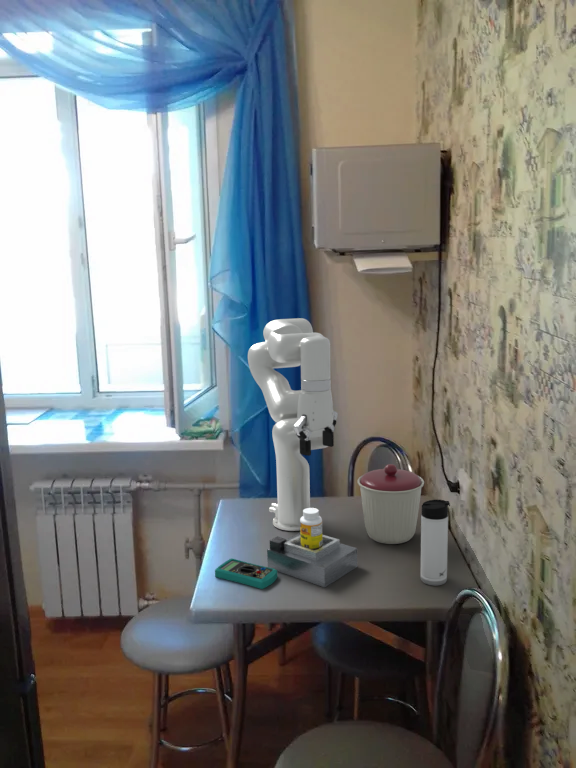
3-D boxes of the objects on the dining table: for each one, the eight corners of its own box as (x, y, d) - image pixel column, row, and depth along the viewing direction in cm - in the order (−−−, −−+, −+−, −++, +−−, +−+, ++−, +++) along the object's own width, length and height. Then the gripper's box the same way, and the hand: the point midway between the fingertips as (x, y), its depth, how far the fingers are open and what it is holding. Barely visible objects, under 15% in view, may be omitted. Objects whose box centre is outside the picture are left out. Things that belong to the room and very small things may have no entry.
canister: (351, 546, 192) (350, 471, 188) (365, 521, 209) (365, 453, 205) (418, 554, 186) (418, 477, 182) (427, 528, 203) (428, 457, 199)
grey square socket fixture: (267, 567, 181) (266, 540, 179) (301, 549, 191) (301, 523, 190) (324, 587, 169) (324, 558, 168) (357, 566, 180) (357, 539, 178)
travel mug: (448, 586, 168) (450, 506, 164) (420, 585, 169) (421, 505, 166) (447, 574, 174) (449, 497, 170) (420, 573, 175) (421, 496, 172)
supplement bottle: (297, 545, 181) (296, 508, 179) (317, 542, 183) (317, 505, 181) (305, 554, 176) (304, 516, 174) (326, 551, 178) (325, 512, 176)
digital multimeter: (264, 591, 169) (264, 580, 168) (213, 578, 176) (213, 567, 176) (280, 579, 175) (279, 568, 175) (230, 566, 183) (230, 556, 182)
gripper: (324, 378, 189) (325, 440, 192) (282, 389, 176) (284, 455, 179) (347, 381, 184) (348, 444, 188) (306, 392, 171) (308, 460, 174)
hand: (317, 450), depth 183 cm, fingers open, 9 cm apart
